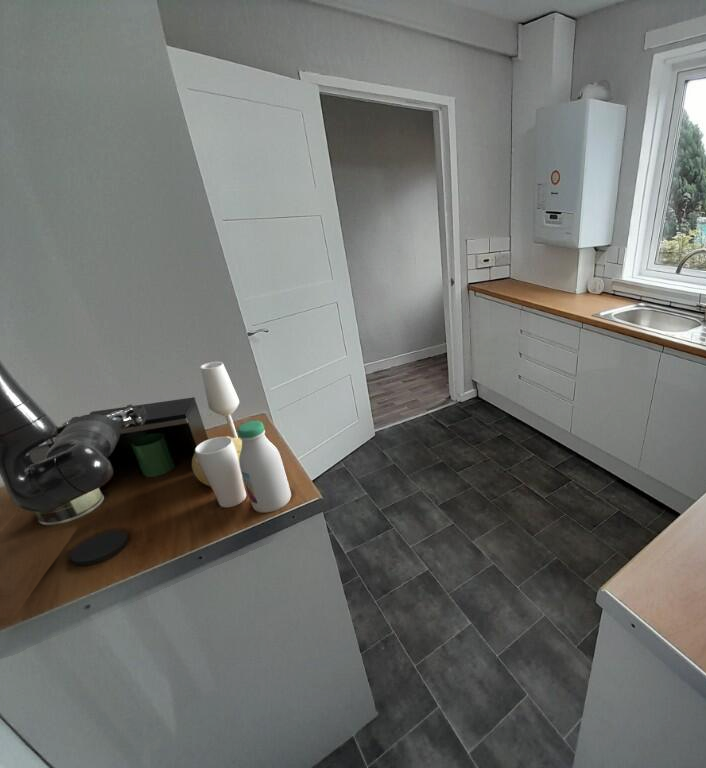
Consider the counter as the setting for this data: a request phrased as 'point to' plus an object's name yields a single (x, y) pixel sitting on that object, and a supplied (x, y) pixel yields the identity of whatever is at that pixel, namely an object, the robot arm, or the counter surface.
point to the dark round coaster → (99, 547)
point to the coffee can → (71, 508)
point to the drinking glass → (222, 470)
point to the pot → (153, 454)
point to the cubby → (159, 431)
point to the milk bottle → (262, 469)
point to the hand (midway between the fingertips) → (105, 414)
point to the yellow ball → (197, 468)
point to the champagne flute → (220, 392)
